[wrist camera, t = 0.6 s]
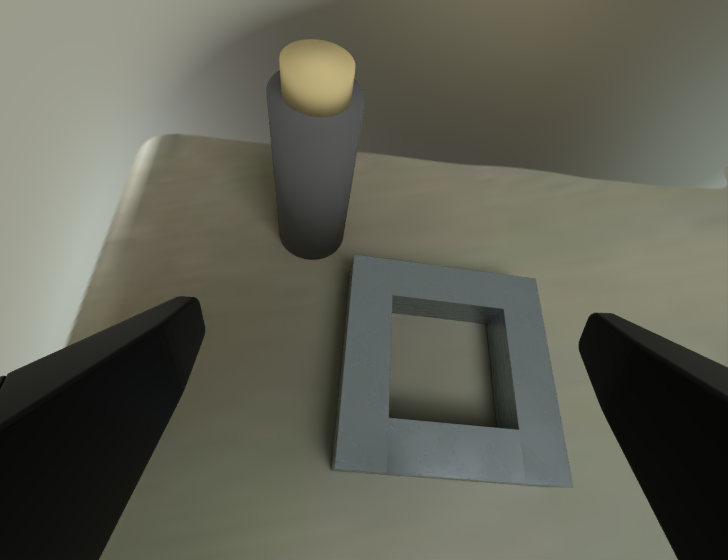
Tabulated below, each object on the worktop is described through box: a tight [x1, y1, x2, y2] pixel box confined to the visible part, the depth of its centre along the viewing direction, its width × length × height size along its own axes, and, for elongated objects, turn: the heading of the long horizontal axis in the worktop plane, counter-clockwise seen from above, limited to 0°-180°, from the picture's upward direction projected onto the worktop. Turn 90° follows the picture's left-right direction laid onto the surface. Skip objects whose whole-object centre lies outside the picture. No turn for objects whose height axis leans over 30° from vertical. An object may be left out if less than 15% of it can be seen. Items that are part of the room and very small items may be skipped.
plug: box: [266, 39, 365, 260], centre depth 21 cm, size 4×4×12 cm
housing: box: [331, 255, 573, 488], centre depth 22 cm, size 12×12×2 cm
